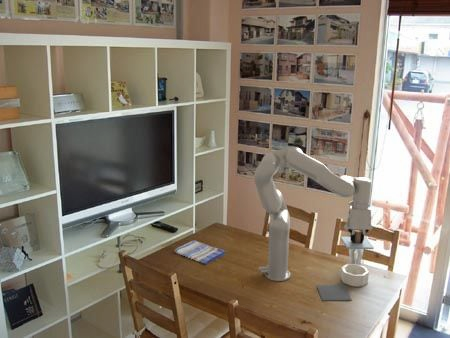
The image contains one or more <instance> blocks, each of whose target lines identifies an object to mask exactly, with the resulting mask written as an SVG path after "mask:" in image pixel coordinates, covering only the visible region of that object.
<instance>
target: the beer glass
mask: <svg viewBox="0 0 450 338" xmlns="http://www.w3.org/2000/svg"><path fill="white" fill-rule="evenodd" d="M364 250H365V249H348V255H349V263H348V264H358V265H361V261H362V259H363V258H362V257H363V255H364ZM361 266H362V265H361Z"/></svg>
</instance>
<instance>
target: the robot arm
mask: <svg viewBox="0 0 450 338" xmlns="http://www.w3.org/2000/svg"><path fill="white" fill-rule="evenodd" d="M285 167H289V168H291V169H292V170H293V171H295V172H298V173H299V174H301V175H304V176H306V177H307V178H309V179H311V180H313V181H314V182H316V183H317V184H318V185H320V186H321V187H323V188H324V189H326V190H328V191H330V192H331V193H333V194H336V195H338V196H340V197H342V198H351V197H352V199H351V201H349V202H348V205H349V206H350V207H349V210H348V214H347V219H346V223H345V224H344V226H343V229H344V230H346V231H348V232H349V234H350V236H349V237H350V240H351V241H352V242H353V243H355V230H359V231H361V241H360V242H361V243H363V241H364V237H365V235H366V234H367V233H368V232H369V231H372V230H373V229H374V228H373V225H372V209H371V207H370V200H371V192H372V191H371V190H372V181H371V179H370V178H367V177H354V176H350V175H340V176H338V175H337V174H335V173H333V172H332V171H331V170H330V169H329V168H328V167H327V166H326V165H325V164H324V163H322V162H321V161H320V160H319V161H318V160H316V159H315V158H312V157H311V156H309V155H307V154H306V153H304V152H303V151H302V149H301V148H299V147H297V146H291V147H286V148H282V149H278V150H275V151H274V150H273V151H271V152H268V153H266V154H265V155H264V156H263V157H262V158H261V162H260V163H259V164H258V166H257V167H256V169H255V172H254V175H253V180H254V184H255V187H256V189H257V193H258V196H259V199H260V201H261V205H262V208H263V210H264V211H265V212H266V213H268V215H269V222H268V223H269V224H268V254H267V255H268V256H267V257H268V258H267V259H268V263H267V264H266V265H265V266H258V272H260V271H261V273H264V276H265V277H266V278H267V279H268V280H270V281H274V282H284V281H287V280H289V279H290V278H291V272H290V270H289V269H288V267H289V265H288V264H289V243H290V229H291V228H290V226H291V225H290V224H291V219H290V218H291V216H290V213H289V210H288V207H287V204H286V201H285V199H284V195H283V194H282V192H281V191H280V190H279V189H278V188H276V184H275V182H274V180H273V179H274V178H273V177H274V176H275V174H276V173H277V172H278V171H279V168H280V169H281V168H285Z"/></svg>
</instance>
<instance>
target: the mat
mask: <svg viewBox="0 0 450 338" xmlns="http://www.w3.org/2000/svg"><path fill="white" fill-rule="evenodd" d="M316 289H317V291H318V293H319V295H320V298H321V301H323V302H328V301H329V302H330V301H331V302H335V301H336V302H340V301H341V302H344V301H345V302H349V301H353V300H352V297H351V296H350V293H349V291H348V290H347V287H346V286H345V284H330V285H329V284H325V285H324V284H320V285H319V284H316Z"/></svg>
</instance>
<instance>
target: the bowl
mask: <svg viewBox="0 0 450 338" xmlns="http://www.w3.org/2000/svg"><path fill="white" fill-rule="evenodd" d="M369 274H370V271H369V270H368V268H367V267H366V266H363V265H358V264H349V263H346V264H345V265H343V266H341V270H340V279H341V281H342V283H344V285H345V284H346V285H347V286H350V287H358V288H359V287H364V286H365V285H366V284H368V283H369Z"/></svg>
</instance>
